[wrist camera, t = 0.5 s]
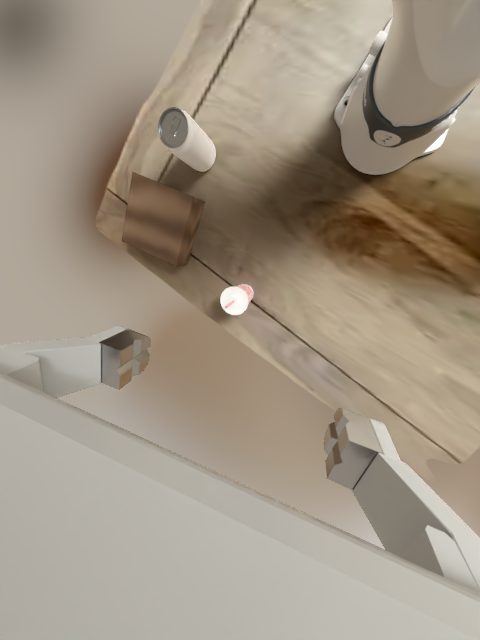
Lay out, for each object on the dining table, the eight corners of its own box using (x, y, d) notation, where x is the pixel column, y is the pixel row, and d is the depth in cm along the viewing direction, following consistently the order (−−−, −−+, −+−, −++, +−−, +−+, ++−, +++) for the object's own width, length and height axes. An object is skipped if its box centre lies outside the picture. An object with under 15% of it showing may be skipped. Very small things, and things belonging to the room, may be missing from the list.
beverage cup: (253, 307, 56) (238, 325, 43) (230, 302, 57) (209, 318, 44) (258, 283, 53) (244, 295, 41) (234, 278, 55) (213, 287, 42)
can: (184, 164, 50) (151, 140, 39) (196, 131, 47) (163, 96, 36) (209, 178, 49) (181, 158, 38) (221, 145, 47) (196, 114, 36)
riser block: (150, 179, 53) (132, 171, 48) (205, 202, 52) (193, 196, 46) (138, 241, 59) (121, 241, 54) (188, 264, 57) (175, 265, 52)
